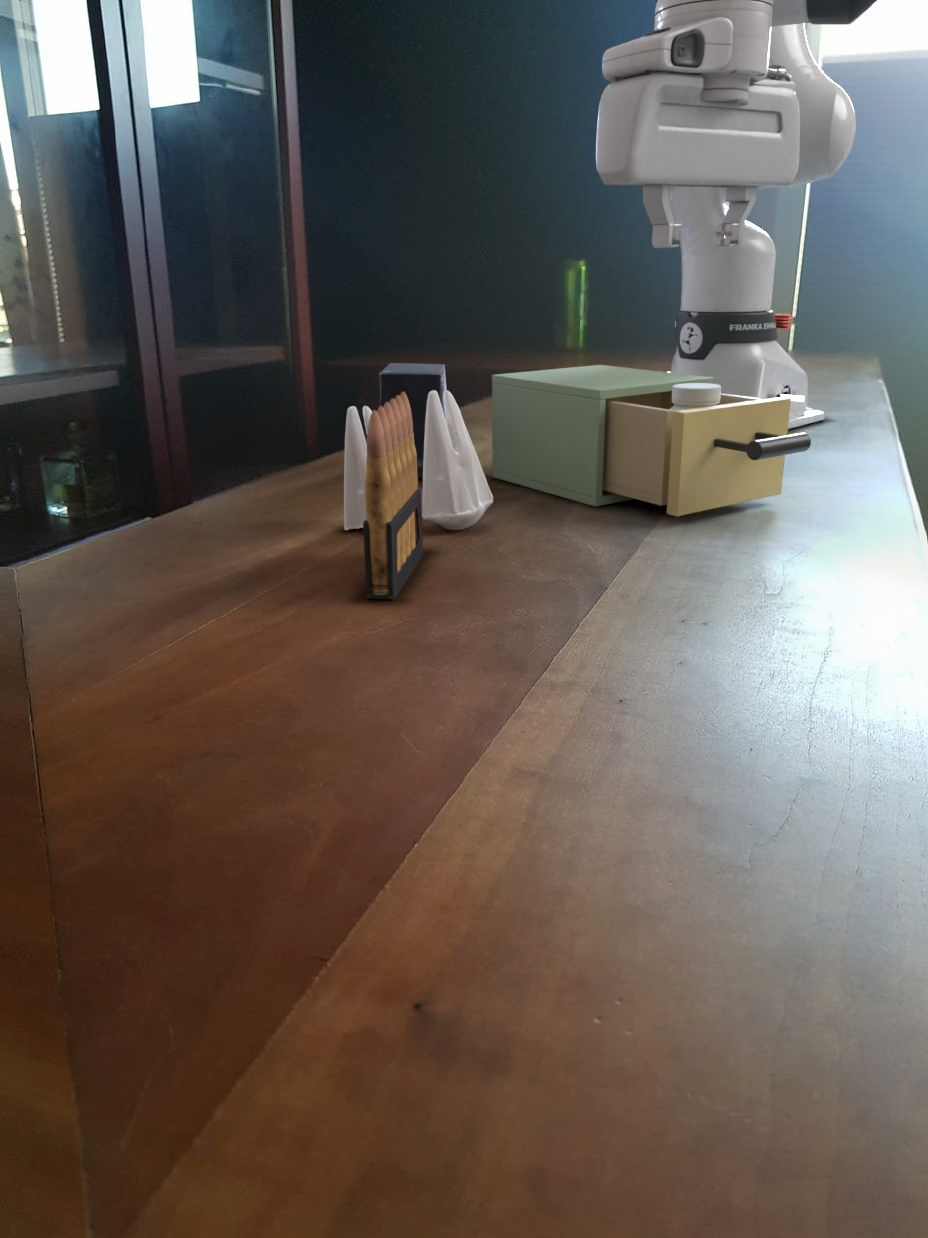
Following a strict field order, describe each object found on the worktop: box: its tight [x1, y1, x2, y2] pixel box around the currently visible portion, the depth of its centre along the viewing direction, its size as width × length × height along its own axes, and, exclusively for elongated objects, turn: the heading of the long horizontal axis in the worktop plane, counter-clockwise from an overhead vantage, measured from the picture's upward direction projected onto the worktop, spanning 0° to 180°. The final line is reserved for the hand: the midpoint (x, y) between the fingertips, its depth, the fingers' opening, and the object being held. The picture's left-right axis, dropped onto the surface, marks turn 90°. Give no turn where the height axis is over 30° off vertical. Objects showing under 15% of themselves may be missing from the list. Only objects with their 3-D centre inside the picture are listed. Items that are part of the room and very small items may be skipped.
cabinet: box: [491, 364, 714, 507], centre depth 91 cm, size 16×14×10 cm
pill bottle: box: [670, 383, 721, 411], centre depth 81 cm, size 5×5×8 cm
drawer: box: [602, 391, 812, 517], centre depth 82 cm, size 20×13×8 cm, turn 34°
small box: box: [378, 362, 447, 479], centre depth 98 cm, size 11×6×10 cm, turn 179°
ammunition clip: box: [362, 392, 424, 601], centre depth 64 cm, size 11×2×12 cm, turn 172°
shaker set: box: [343, 389, 494, 531], centre depth 76 cm, size 12×4×11 cm, turn 81°
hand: (697, 247), depth 79 cm, fingers open, 6 cm apart
